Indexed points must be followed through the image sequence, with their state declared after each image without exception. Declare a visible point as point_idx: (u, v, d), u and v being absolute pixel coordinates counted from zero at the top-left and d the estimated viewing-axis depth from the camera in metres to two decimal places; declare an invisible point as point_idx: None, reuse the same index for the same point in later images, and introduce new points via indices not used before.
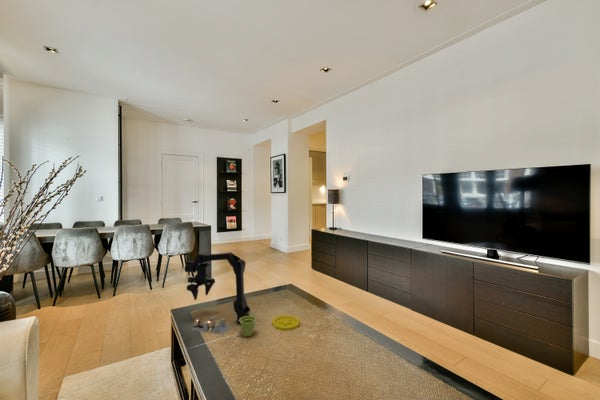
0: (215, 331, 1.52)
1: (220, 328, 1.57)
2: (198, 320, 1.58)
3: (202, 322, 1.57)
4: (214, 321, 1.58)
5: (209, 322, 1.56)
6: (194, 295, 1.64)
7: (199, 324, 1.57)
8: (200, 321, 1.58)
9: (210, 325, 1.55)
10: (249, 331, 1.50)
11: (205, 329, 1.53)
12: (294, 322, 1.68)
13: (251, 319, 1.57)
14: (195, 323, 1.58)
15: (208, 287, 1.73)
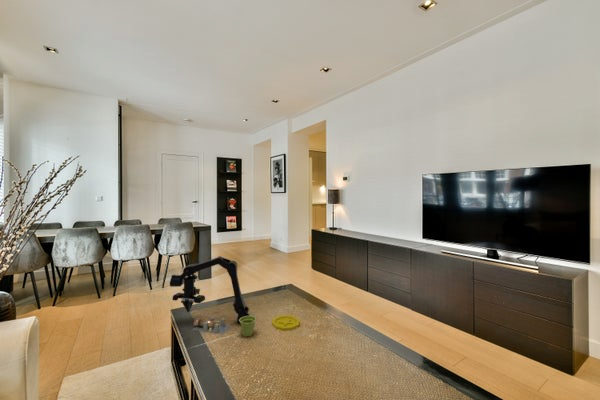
0: (215, 331, 1.52)
1: (220, 328, 1.57)
2: (198, 320, 1.58)
3: (202, 322, 1.57)
4: (214, 321, 1.58)
5: (209, 322, 1.56)
6: None
7: (199, 324, 1.57)
8: (200, 321, 1.58)
9: (210, 325, 1.55)
10: (249, 331, 1.50)
11: (205, 329, 1.53)
12: (294, 322, 1.68)
13: (251, 319, 1.57)
14: (195, 323, 1.58)
15: None
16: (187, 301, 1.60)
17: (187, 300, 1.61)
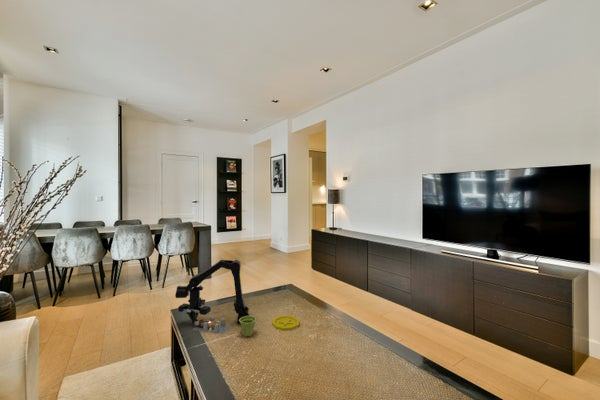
0: (215, 331, 1.52)
1: (220, 328, 1.57)
2: (199, 320, 1.58)
3: (203, 322, 1.57)
4: (215, 321, 1.58)
5: (210, 322, 1.56)
6: None
7: (200, 324, 1.57)
8: (201, 321, 1.57)
9: (211, 325, 1.55)
10: (249, 331, 1.50)
11: (205, 329, 1.53)
12: (294, 322, 1.68)
13: (251, 319, 1.57)
14: (196, 323, 1.57)
15: None
16: (193, 312, 1.60)
17: (193, 311, 1.60)
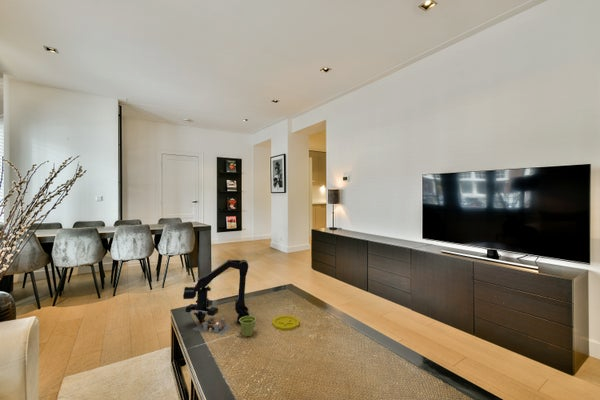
0: (215, 331, 1.52)
1: None
2: (206, 321, 1.57)
3: (210, 323, 1.56)
4: (222, 322, 1.57)
5: (217, 323, 1.55)
6: None
7: None
8: (208, 322, 1.56)
9: (219, 326, 1.54)
10: (249, 331, 1.50)
11: (205, 329, 1.53)
12: (294, 322, 1.68)
13: (251, 319, 1.57)
14: None
15: None
16: (200, 313, 1.59)
17: (200, 312, 1.59)
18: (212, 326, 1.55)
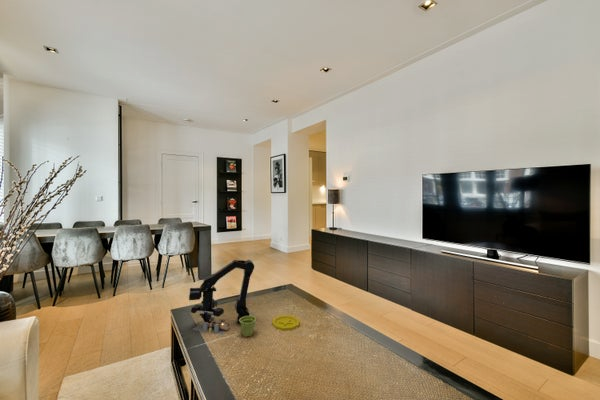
0: (215, 331, 1.52)
1: None
2: (212, 322, 1.56)
3: None
4: (228, 323, 1.56)
5: (223, 324, 1.54)
6: None
7: (213, 326, 1.55)
8: (214, 323, 1.55)
9: (224, 327, 1.53)
10: (249, 331, 1.50)
11: (205, 329, 1.53)
12: (294, 322, 1.68)
13: (251, 319, 1.57)
14: (209, 325, 1.55)
15: None
16: (206, 314, 1.58)
17: (206, 313, 1.58)
18: None
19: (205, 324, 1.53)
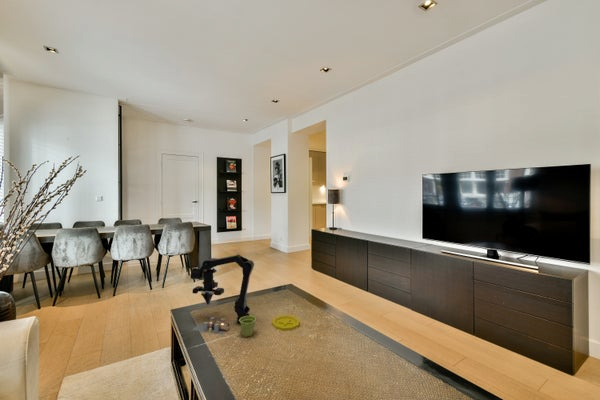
0: (215, 331, 1.52)
1: None
2: (212, 322, 1.56)
3: None
4: (228, 323, 1.56)
5: (223, 324, 1.54)
6: None
7: (213, 326, 1.55)
8: (214, 323, 1.55)
9: (224, 327, 1.53)
10: (249, 331, 1.50)
11: (205, 329, 1.53)
12: (294, 322, 1.68)
13: (251, 319, 1.57)
14: (209, 325, 1.55)
15: None
16: (207, 294, 1.66)
17: (207, 293, 1.66)
18: None
19: (205, 324, 1.53)
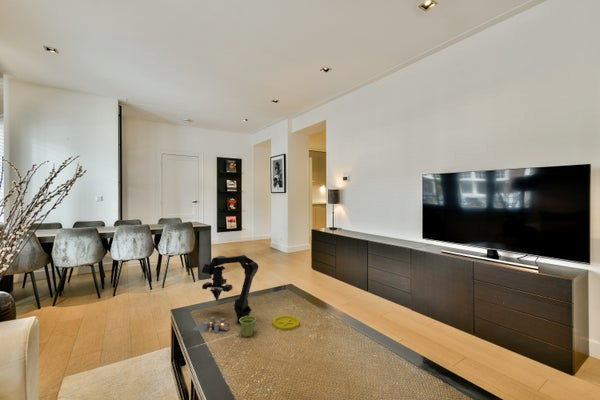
0: (215, 331, 1.52)
1: None
2: (212, 322, 1.56)
3: None
4: (228, 323, 1.56)
5: (223, 324, 1.54)
6: None
7: (213, 326, 1.55)
8: (214, 323, 1.55)
9: (224, 327, 1.53)
10: (249, 331, 1.50)
11: (205, 329, 1.53)
12: (294, 322, 1.68)
13: (251, 319, 1.57)
14: (209, 325, 1.55)
15: None
16: (216, 290, 1.72)
17: (216, 289, 1.72)
18: None
19: (205, 324, 1.53)
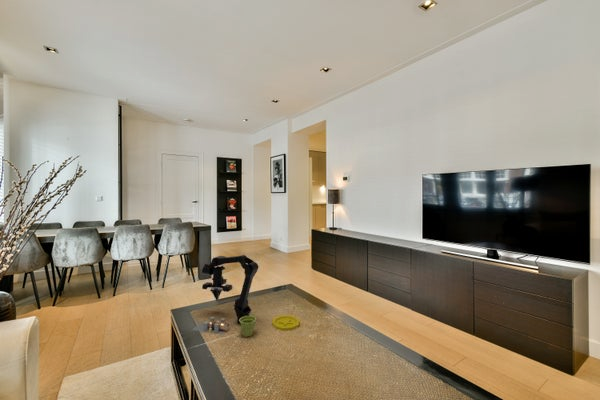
0: (215, 331, 1.52)
1: None
2: (211, 323, 1.56)
3: None
4: (228, 323, 1.55)
5: (223, 325, 1.54)
6: None
7: (213, 327, 1.55)
8: (214, 324, 1.55)
9: (224, 328, 1.53)
10: (249, 331, 1.50)
11: (205, 329, 1.53)
12: (294, 322, 1.68)
13: (251, 319, 1.57)
14: (209, 326, 1.55)
15: None
16: (216, 290, 1.72)
17: (216, 289, 1.72)
18: None
19: (205, 324, 1.53)
